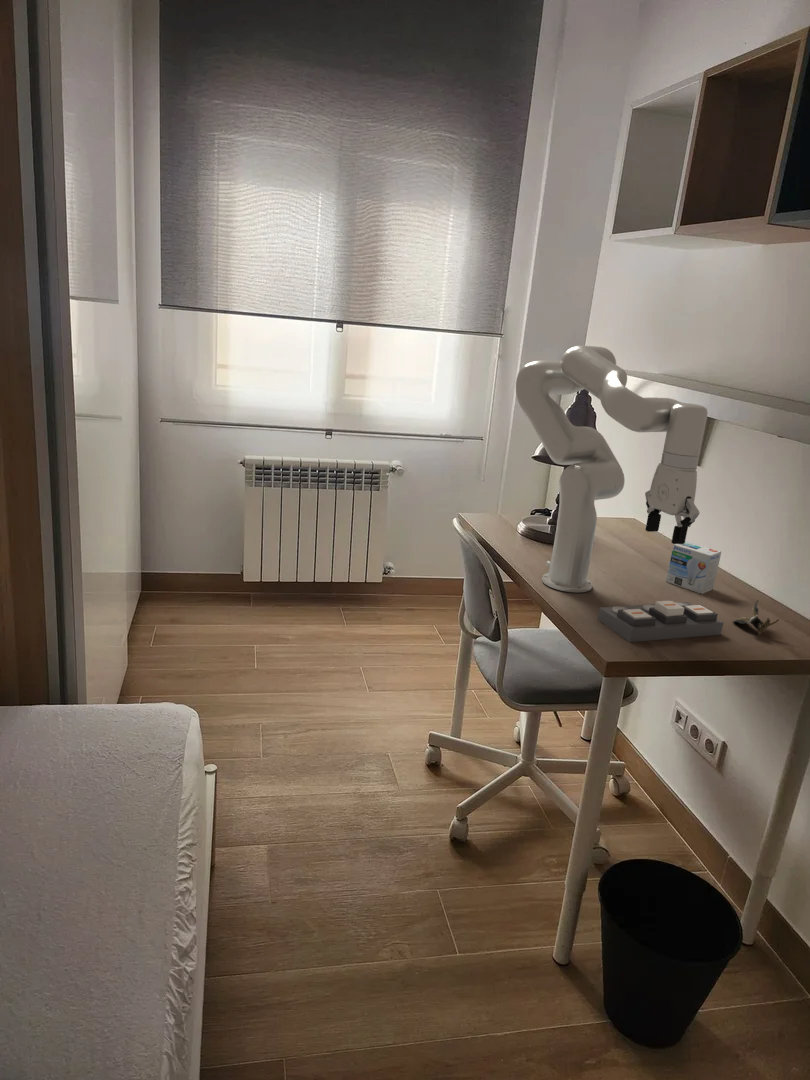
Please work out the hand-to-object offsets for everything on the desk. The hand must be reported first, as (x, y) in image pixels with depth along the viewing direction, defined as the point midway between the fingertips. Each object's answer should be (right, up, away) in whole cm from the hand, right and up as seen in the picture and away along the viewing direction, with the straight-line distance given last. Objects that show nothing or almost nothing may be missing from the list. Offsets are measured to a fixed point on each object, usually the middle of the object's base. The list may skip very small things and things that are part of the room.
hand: (664, 537), depth 174 cm
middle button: (+1, -17, -1) cm, 17 cm away
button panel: (0, -21, +3) cm, 21 cm away
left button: (-7, -18, -3) cm, 20 cm away
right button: (+8, -18, +3) cm, 20 cm away
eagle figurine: (+22, -22, +7) cm, 32 cm away
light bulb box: (+18, -13, +33) cm, 40 cm away
